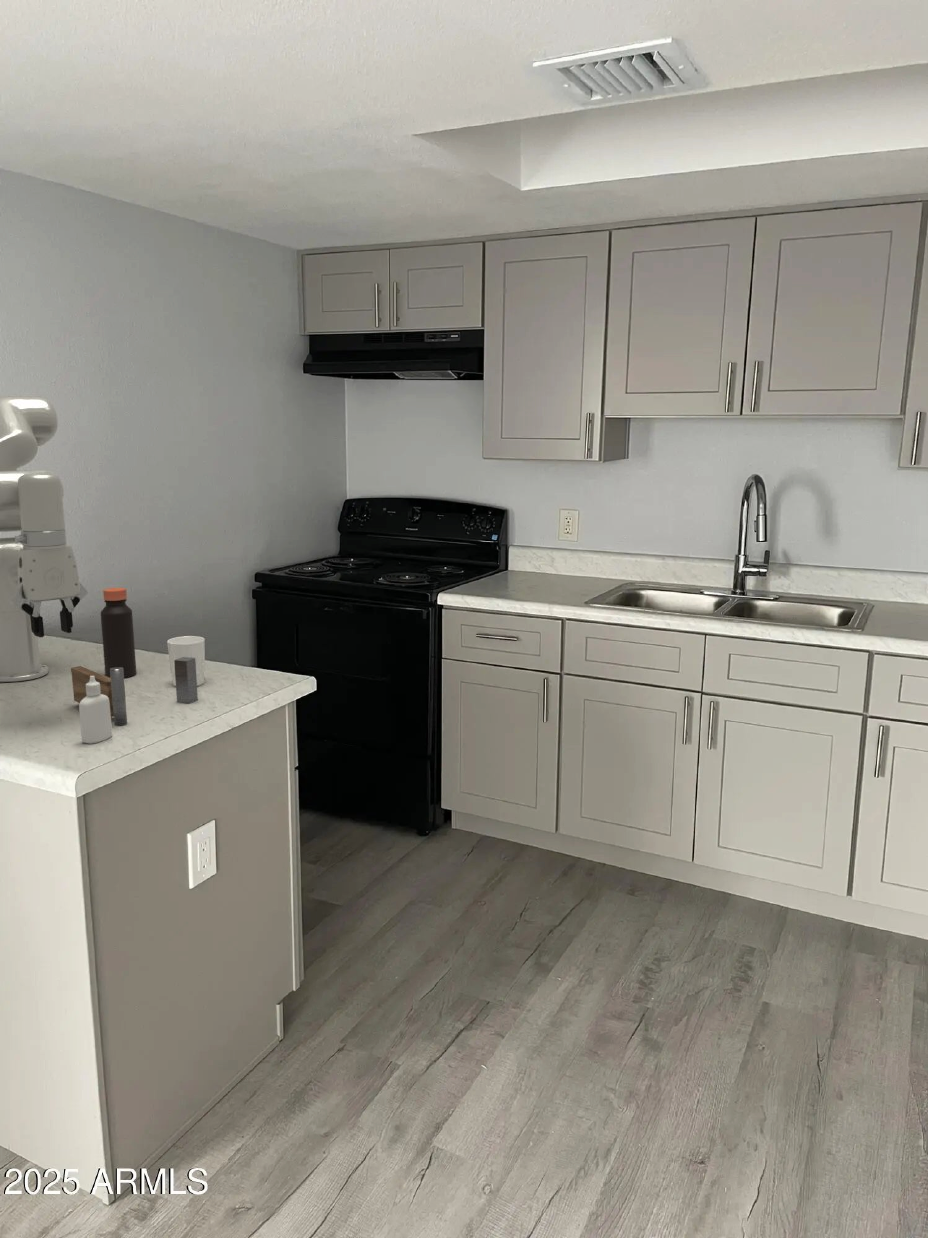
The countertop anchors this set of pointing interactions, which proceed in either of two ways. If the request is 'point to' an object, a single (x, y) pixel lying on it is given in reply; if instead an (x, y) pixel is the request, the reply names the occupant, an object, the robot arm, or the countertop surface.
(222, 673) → the countertop surface
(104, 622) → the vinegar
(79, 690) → the brown wooden board
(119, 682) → the grey glass test tube
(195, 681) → the post
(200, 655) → the white cup
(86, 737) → the eye dropper bottle
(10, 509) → the robot arm
